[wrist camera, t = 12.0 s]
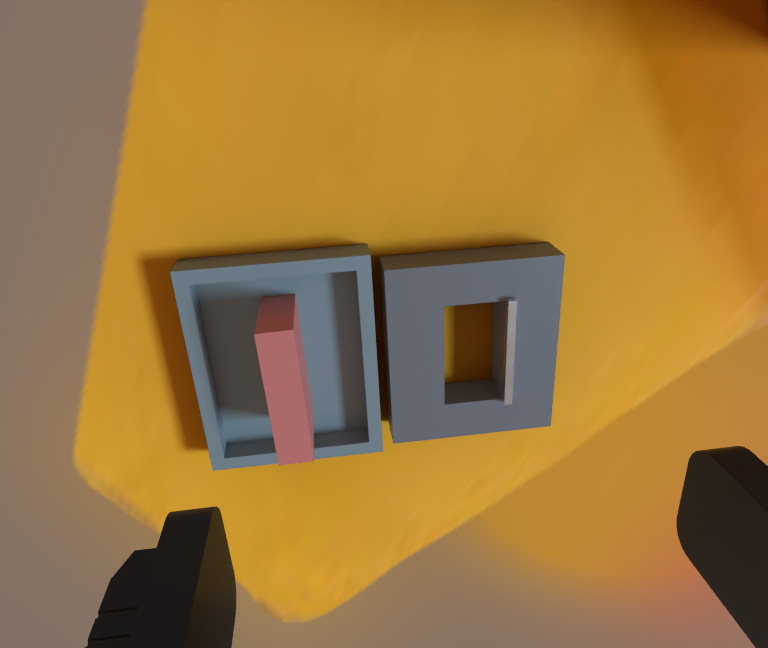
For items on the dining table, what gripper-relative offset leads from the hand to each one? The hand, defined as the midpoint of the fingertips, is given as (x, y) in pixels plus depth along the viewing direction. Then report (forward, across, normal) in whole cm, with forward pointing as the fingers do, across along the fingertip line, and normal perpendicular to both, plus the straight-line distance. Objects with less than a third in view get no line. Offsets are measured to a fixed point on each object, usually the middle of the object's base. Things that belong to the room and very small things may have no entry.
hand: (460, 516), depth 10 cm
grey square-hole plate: (+32, -8, +13) cm, 36 cm away
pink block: (+28, +5, +18) cm, 34 cm away
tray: (+32, +6, +13) cm, 35 cm away
